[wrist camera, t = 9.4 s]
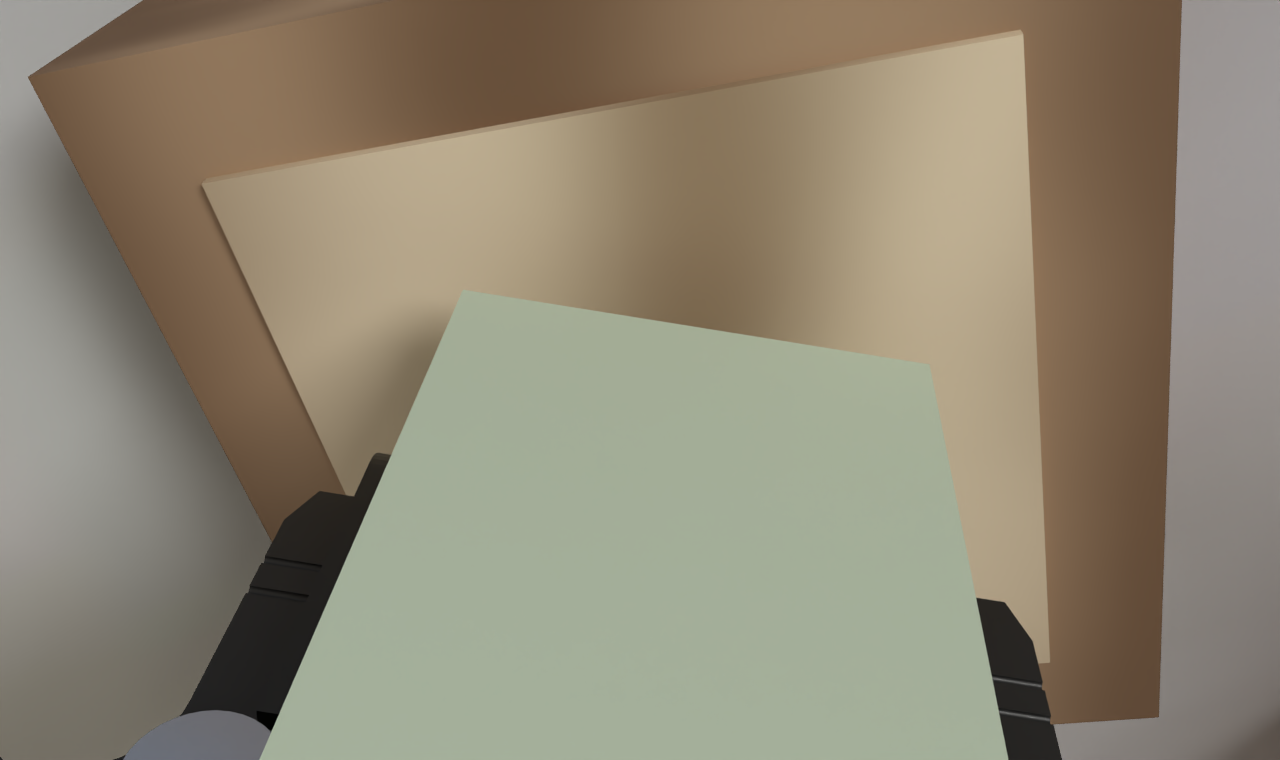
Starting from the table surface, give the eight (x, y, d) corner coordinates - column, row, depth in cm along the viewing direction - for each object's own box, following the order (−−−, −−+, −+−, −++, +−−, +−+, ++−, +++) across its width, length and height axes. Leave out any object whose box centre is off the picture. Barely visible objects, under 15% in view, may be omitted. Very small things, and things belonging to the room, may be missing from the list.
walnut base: (1107, -214, 13) (1192, -164, 10) (1109, 572, 19) (1161, 725, 17) (148, -3, 15) (21, 81, 13) (434, 633, 22) (387, 776, 19)
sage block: (929, 364, 12) (1033, 890, 7) (825, 676, 15) (852, 1205, 10) (462, 289, 12) (256, 765, 7) (447, 615, 15) (291, 1113, 10)
